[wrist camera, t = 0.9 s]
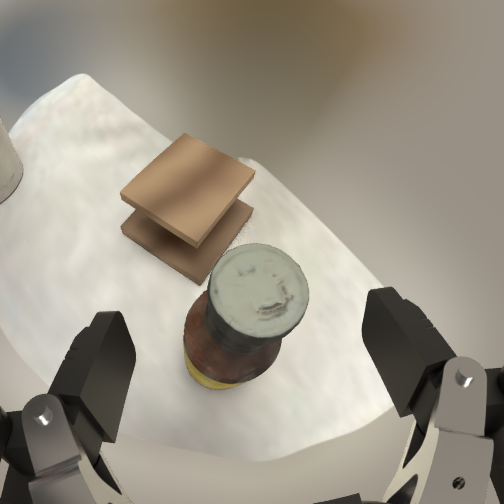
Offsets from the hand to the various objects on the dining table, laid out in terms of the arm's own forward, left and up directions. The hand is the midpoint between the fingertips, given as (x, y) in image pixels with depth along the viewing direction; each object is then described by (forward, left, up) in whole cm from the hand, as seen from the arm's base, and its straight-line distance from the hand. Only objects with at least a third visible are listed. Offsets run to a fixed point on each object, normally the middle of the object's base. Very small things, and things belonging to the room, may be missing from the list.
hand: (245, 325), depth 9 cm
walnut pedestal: (-11, +13, -21) cm, 27 cm away
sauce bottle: (0, +2, -21) cm, 21 cm away
